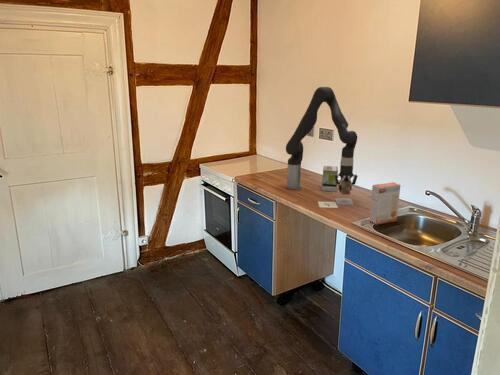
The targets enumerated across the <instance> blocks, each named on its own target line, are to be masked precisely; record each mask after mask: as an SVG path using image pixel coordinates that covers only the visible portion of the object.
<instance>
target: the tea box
mask: <svg viewBox="0 0 500 375" xmlns="http://www.w3.org/2000/svg"><path fill="white" fill-rule="evenodd" d="M338 168H339V167H338V166H337V165H336V166H335V165H323V169H322V178H321V179H322V180H321V181H322V182H321V191H324V192H337V186H338V184H336V180H335V174H336V175H337V174H339V169H338Z"/></svg>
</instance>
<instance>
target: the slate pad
mask: <svg viewBox="0 0 500 375" xmlns="http://www.w3.org/2000/svg"><path fill="white" fill-rule="evenodd" d="M334 200H335V201H334V202H336V204H337V206H338V205H339V206H341V205H347V206H354V205H355V204H354V202H353V200H352V199H351V197H349V198H348V197H334Z"/></svg>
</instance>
